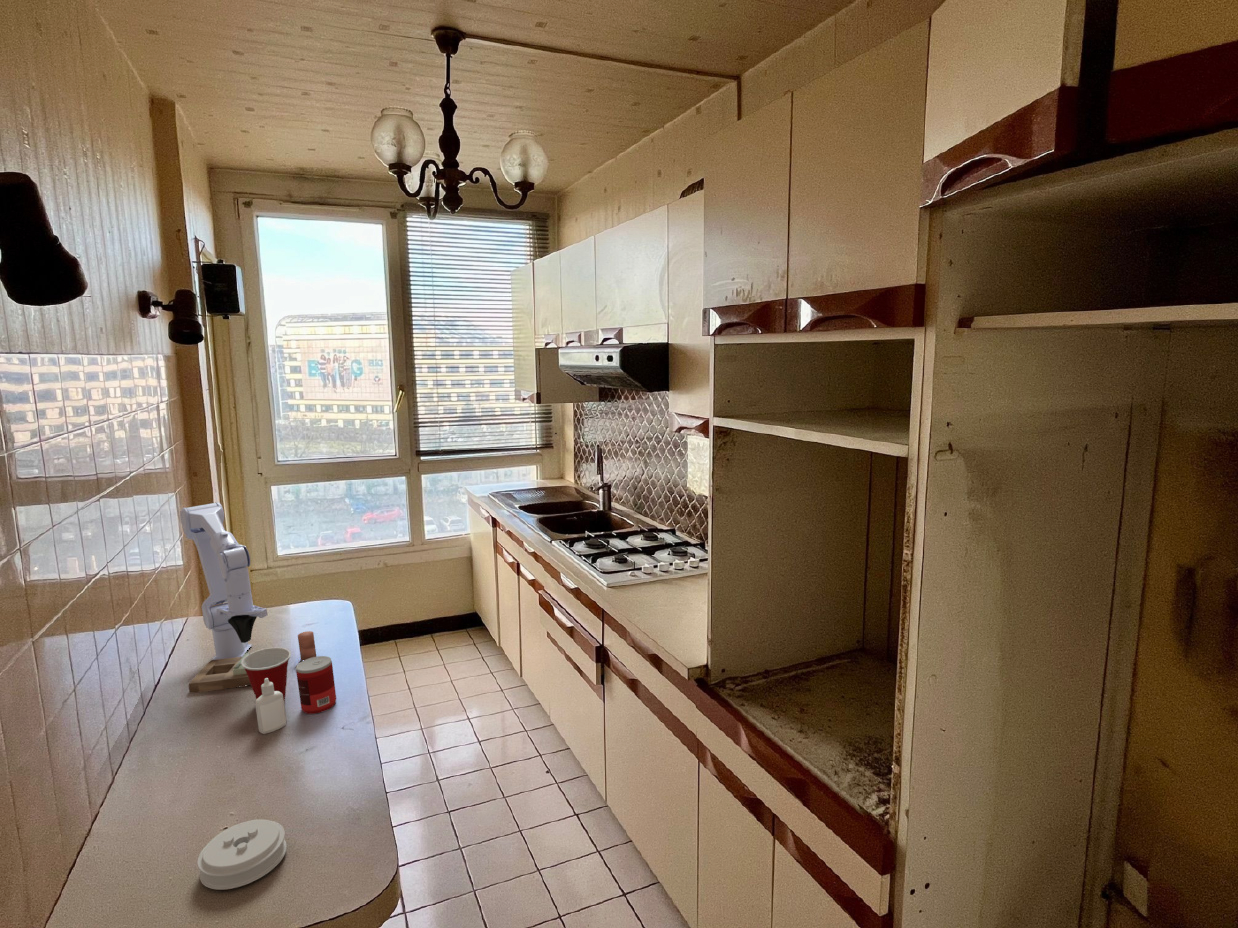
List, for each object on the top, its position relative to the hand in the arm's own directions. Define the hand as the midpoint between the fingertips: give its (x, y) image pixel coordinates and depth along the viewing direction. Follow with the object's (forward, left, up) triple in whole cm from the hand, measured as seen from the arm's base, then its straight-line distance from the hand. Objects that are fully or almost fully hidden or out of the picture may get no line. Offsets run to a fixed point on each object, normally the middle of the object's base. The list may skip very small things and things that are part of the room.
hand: (246, 641), depth 184 cm
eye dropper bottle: (+33, +15, -9) cm, 38 cm away
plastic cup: (+20, +11, -9) cm, 25 cm away
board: (+2, -3, -9) cm, 9 cm away
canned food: (+25, +23, -9) cm, 35 cm away
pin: (-5, +13, -9) cm, 17 cm away
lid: (+78, +24, -9) cm, 82 cm away
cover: (+2, +3, -6) cm, 7 cm away
